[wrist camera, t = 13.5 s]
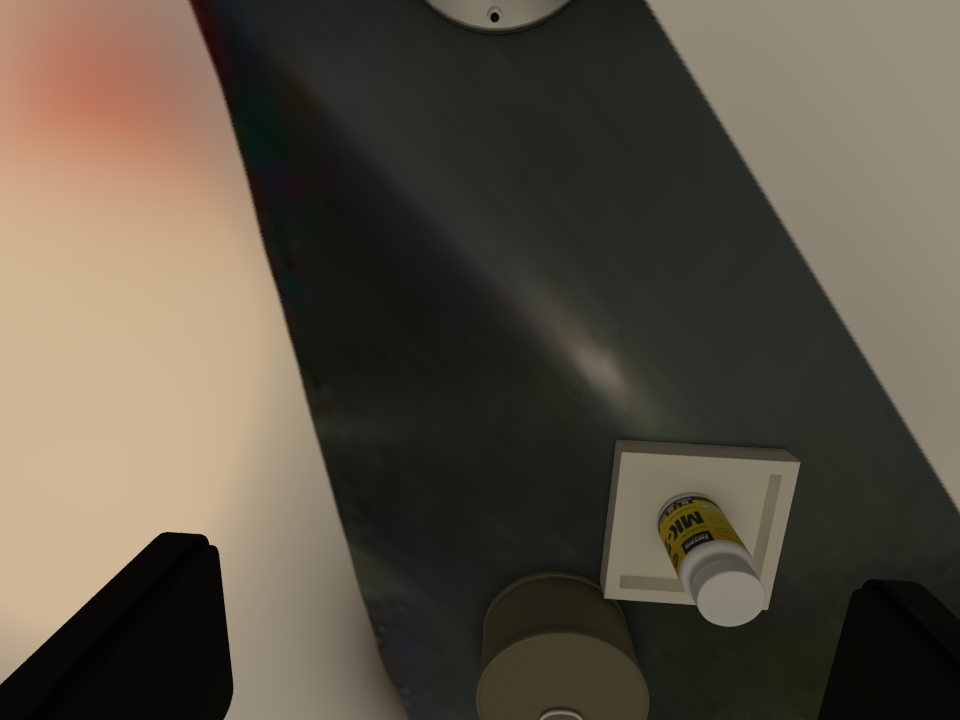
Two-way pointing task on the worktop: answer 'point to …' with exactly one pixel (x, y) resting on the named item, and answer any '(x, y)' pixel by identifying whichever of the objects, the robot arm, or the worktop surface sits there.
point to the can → (558, 654)
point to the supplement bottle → (710, 560)
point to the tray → (691, 470)
